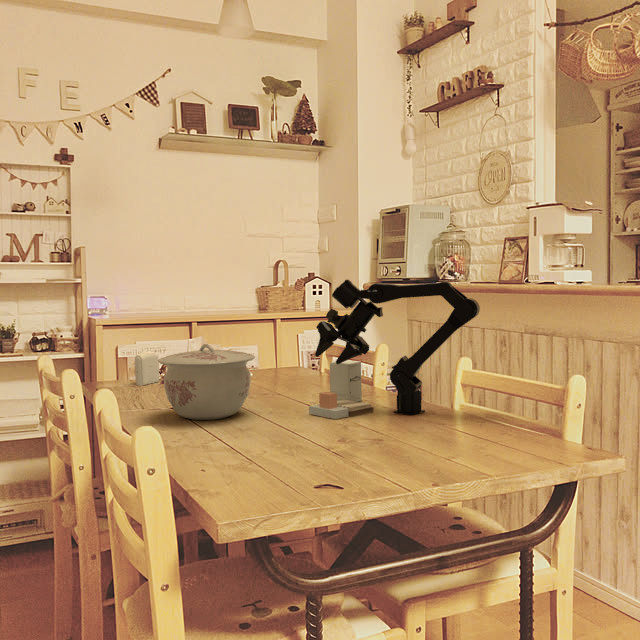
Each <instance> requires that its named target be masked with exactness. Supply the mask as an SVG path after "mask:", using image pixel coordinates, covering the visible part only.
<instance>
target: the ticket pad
mask: <svg viewBox="0 0 640 640" xmlns="http://www.w3.org/2000/svg"><path fill="white" fill-rule="evenodd" d="M337 407H343V408H348V418H354V417H357V416H363V415H367V414H372V413H374V407H373V406H372V404H371V403H365V402H362V401H358V402H356V401H350V400H339V401H337Z"/></svg>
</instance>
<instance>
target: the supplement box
mask: <svg viewBox="0 0 640 640" xmlns="http://www.w3.org/2000/svg"><path fill="white" fill-rule="evenodd" d="M329 392H332V393H337V401H339V400H350V401H356V402H362V361H360V360H346V361H344V362H342V363H340V364H336V361H331V362H329Z"/></svg>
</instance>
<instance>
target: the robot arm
mask: <svg viewBox="0 0 640 640" xmlns="http://www.w3.org/2000/svg"><path fill="white" fill-rule="evenodd" d="M436 296H441V297H442V298H443V299H444V300H445V301H446V302H447V303H448V304H449V305H450V306H451V307H452V308H453V310H452V311H451V313H450V314H449V315H448V318H447V319H446V321H445V322H444V323H443V324H442V325H441V326H440V327H439V328H438V329H437V330H436V331H435V332H434V333H433V334H432V335H431V336H430V337H429V338H428V339H427V340H426V341H425V342H424V343H423V344H422V345H421V347H419V348H418V349H417V350H416V352H414V354H413V355H411V356H410V357H409V358H408V356H407V355H403V356H402V357H400V359H399V360H398V362H397V363H396V364H395V365H393V366H391V369H392V370H391V371H390V373H389V381H390V382H391V384H392V385H393V386H395V388H396V391H397V395H396V410H395V409H394V410H393V413H395V414H401V415H406V416H414V415H418V414H422V413H426V410H424V409H422V391H421V390H420V389H421V387H422V385H423V382H422V380H420V378H419V377H417V376H416V375H417V374H418V372H419V371H420V369H421V368H422V366H423V365H424V364H425V362H426V361H427V360H429V359H430V358H431V357H432V355H433V354H435V352H437V350H438V349H439V348H441V346H442V345H444V343H445V342H446V341H447V340H448V339H449V338H450V337H451V336H452V335H453V334H455V332H456V331H457V330H459V329H461V328H462V327H463V326H465V325H466V324H468V323H470V322H471V321H472V320H474V319H475V318H476V317H478V315H479V314H480V311H481V310H480V309H481V308H480V307H481V306H480V304H479V302H478V301H477V300H476V299H474V298H468V297H467V296H466V295H465V294H464V293H462V292H461V291H460V290H459V289H457V288H456V287H454V285H453V284H452V283H451V282H449V281H445V280H444V281H440V282H430V283H417V284H416V283H415V284H414V283H413V284H404V285H403V284H396V283H394V284H393V283H387V282H386V283H385V282H378V283H376V282H375V283H373V284H371V285H370V286H369V288H367V289H361V290H360V289H359V288H358V287H357V286H356V285H355V284H353V282H352V281H351V280H350V279H345V280H344V281H343V282H342V283H341V284H340V285H338V287H336V288H335V289H334V290H333V292H332V294H331V297H332V298H333V299H334V300H335V301H337V302H338V304H341V306H343V307H344V308H345V309H346V310H347V309H349V308H350V309H353V310H352V311H351V312H350V313H349V314H348V313H345V314H344V315H343V316H341V315H339V311H338V310H335V309H333V308H330V309H329V310H328V312H327V313H326V315H325V318H326V319H327V321H323V320H322V321H319V322H318V324H317V326H316V329H317V332H318V334H319V340H318V344H317V347H316V351H315V353H314V356H315V357H317V358H319V357H320V356H321V355H322V354H323V353H325V352H326V351H327V350H328V349H329V348H330V347H333V345H334V344H335V343H334V342H336V341H337V340H341V341H343V342H346V343H345V347H344V349H343V350H342V351H341V353H340V354H339V355H338V357H337V359H336V360H335V362H336V364H340V363H342V362H344V361H346V360H347V361H350V360H351V359H354V358H356V357H358V356H363V355H366V354H368V352H369V351H370V345H369V344H368V343H367V342H366V340H365V339H364V338H363V336H361V335H360V334H361V333H366V332H367V329H366V326H367V325H368V324H369V323H370V321H372V319H373V318H374V316H376V317H378V318H381V317H383V316H384V313H383V307H381V306H380V307H378V306H377V305H376V304H382V303H383V304H384V303H387V302H388V303H389V302H391V301H395V300H400V299H405V298H406V299H407V298H423V297H436ZM367 300H368V301H369V302H368V301H367ZM333 325H334V326H333ZM336 329H337V330H336Z"/></svg>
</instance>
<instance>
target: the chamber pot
mask: <svg viewBox="0 0 640 640" xmlns="http://www.w3.org/2000/svg"><path fill="white" fill-rule="evenodd" d="M255 358H256V356H255V355H253V354H251V353H247V352H243V351H237V350H230V349H229V350H228V349H227V350H226V349H214V348H213V347H212V345H210V344H208V343H205V344H202V345H201V347H200V348H199V349H198V350H192V351H185V352H184V351H183V352H178V353H173V354H169V355H166V356H163V357H160V358H158V362H159V365H160V364H161V365H166V368H167V370H166V372H165V374H164V375H163V388H164V391H165V395H166V399H167V401H168V402H169V403H170V405H171V407H172V408H173V410H174V411H175V413H176V414H177V415H178V416H180V417H183V418H186V419H189V420H193V421H215V420H222V419H226V418H229V417H231V416H233V415H236V414H238V412H240V410H241V409H242V407H243V406H244V403H246V400H247V398H248V397H249V395H250V388H251V384H252V383H251V381H252V380H251V378H252V375H251V374H252V373H251V372H250V369H249V368H248V367H247V364H248V362H251V361H253V360H254V359H255Z"/></svg>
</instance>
